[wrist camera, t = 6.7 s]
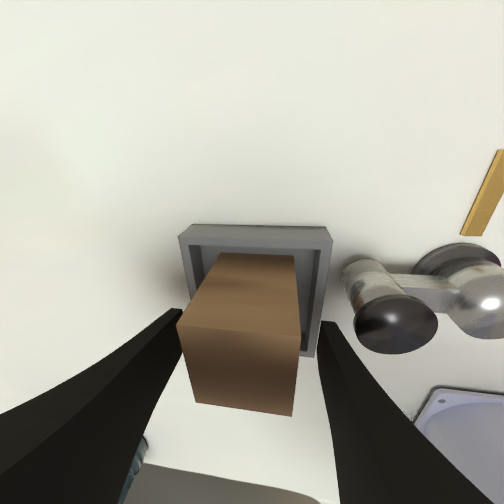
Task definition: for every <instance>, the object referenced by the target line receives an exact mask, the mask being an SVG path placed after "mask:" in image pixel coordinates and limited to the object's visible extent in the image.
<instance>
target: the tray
mask: <svg viewBox="0 0 504 504" xmlns="http://www.w3.org/2000/svg"><path fill="white" fill-rule="evenodd" d="M178 239H179V244H180V249H181V254H182V259H183V264H184V269H185V274H186V279H187V284H188V289H189V294H190V299H191V300H192V298H193V296H194V295H195V293H196V292H197V290H198V288H199V287H200V285H201V284H202V282H203V280H204V279H205V277H206V276H207V274H208V272H209V271H210V269H211V267H212V266H213V264H214V263H215V261H216V259H217V258H218V256H219V255H220V253H221V252H224V253H248V254H271V255H294V262H295V273H296V284H297V296H298V307H299V318H300V329H301V343H300V351H299V356H303V357H313V358H314V355H315V349H316V343H317V337H318V331H319V324H320V318H321V312H322V306H323V300H324V293H325V287H326V281H327V275H328V269H329V263H330V256H331V250H332V244H333V240H332V238H331V236H330V234H329V232H328V230H327V228H326V227H306V226H258V225H209V224H192V225H191V226H190V227H189V228H187V229H186V230H185V231H184V232H182V233H181V234H180V235H179V236H178Z"/></svg>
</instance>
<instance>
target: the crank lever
mask: <svg viewBox="0 0 504 504" xmlns="http://www.w3.org/2000/svg"><path fill="white" fill-rule="evenodd" d="M341 282H342V285H343V287H344V290H345V292H346V294H347V297H348V299H349V301H350V304H351V306H352V308H353V310H354V313H355V317H354V321H353V327H354V331H355V333H356V336H357V338H358V340H359V342H360V343H361V344H362V345H363V346H364V347H366V348H367V349H369V350H371V351H374V352H377V353H381V354H402V353H407V352H411V351H413V350H416V349H418V348H420V347H422V346H424V345H425V344H426V343H428V342H429V341H430V340H431V339H432V338H433V337H434V335H435V333H436V331H437V328H438V320H437V317H436V315H435V314H434V312H437V313H446V314H447V315H448V316H449V317H450V318H451V319H452V320H453V321H454V322H455V323H456V324H457V325H458V327H459V328H460V329H461V330H462V331H464V332H465V333H466V334H468V335H470V336H472V337H475V338H480V339H500V338H504V269H503V268H502V267H500V266H498V265H496V264H494V263H492V262H491V261H489V260H487V259H484V258H481V257H462V258H458V259H454V260H452V261H449V262H447V263H445V264H443V265H442V266H440V267H439V268H438V269H437V270H435V271H434V272H433V274H432V275H431V276H429V275H409V274H389V272H388V271H387V270H386V269H385V268H384V267H383V265H382V264H380V263H379V262H377V261H375V260H371V259H362V260H358V261H355V262H353V263H351V264H350V265H348V266H347V267H346V268H345V269H344V271H343V273H342V276H341Z"/></svg>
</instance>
